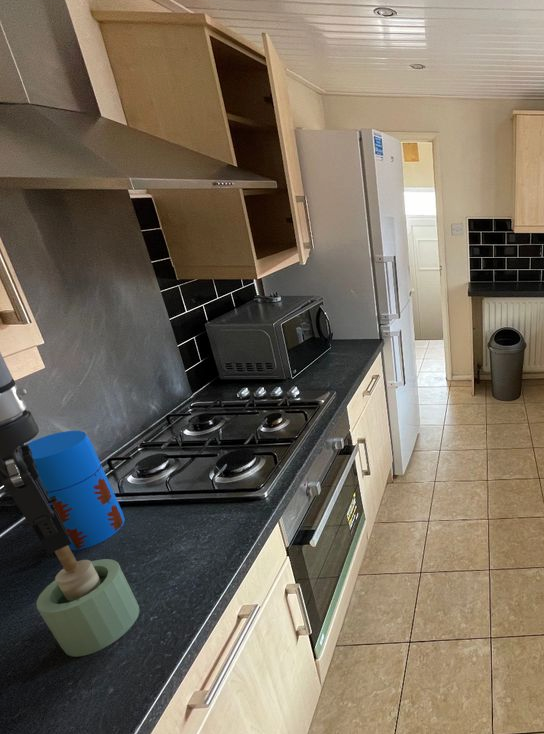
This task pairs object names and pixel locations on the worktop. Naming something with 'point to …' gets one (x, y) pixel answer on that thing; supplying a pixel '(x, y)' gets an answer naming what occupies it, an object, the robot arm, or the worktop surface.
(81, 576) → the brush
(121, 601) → the green faceted pot
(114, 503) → the thermos
